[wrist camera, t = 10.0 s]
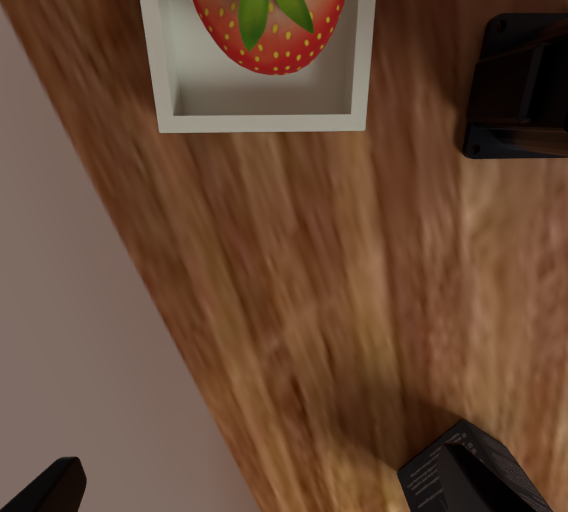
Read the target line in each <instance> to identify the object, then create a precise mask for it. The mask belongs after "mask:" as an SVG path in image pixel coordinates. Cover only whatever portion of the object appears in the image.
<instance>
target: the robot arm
mask: <svg viewBox="0 0 568 512" xmlns="http://www.w3.org/2000/svg"><path fill="white" fill-rule="evenodd" d="M498 22H499V23H500V24H501V30H500V32H497V31H496V25H497V23H498ZM466 118H467V120H468V122H467V127H466V132H465V138H464V143H463V148H462V153H463V155H464V156H465V157H466V158H471V159H507V158H568V13H503V14H499V15H497V16H495V17H493V18H492V19H490V21H489V22H488V23H487V26H486V29H485V34H484V39H483V44H482V50H481V55H480V60H479V62H478V63H477V64H476V67H475V72H474V77H473V82H472V88H471V93H470V98H469V103H468V109H467V114H466ZM473 145H476V150H475V151H474V152H473V153H471V148H472V146H473ZM437 473H438V476H439V479H440V482H441V485H442V489H443V492H444V495H445V498H446V501H447V504H448V507H449V510H450V512H537V511H536V510H535V509H534V508H533V507H532V506H531V505H529V504H528V503H527V502H526V501H525V500H524V499H523V498H522V497H521V496H519V495H518V494H517V493H516V492H515V491H514V490H513V489H512V488H511V487H509V486H508V485H507V484H506V483H505V482H504V481H503V480H502V479H500V478H499V477H498V476H497V475H496V474H495V473H494V472H493V471H492V470H490V469H489V468H488V467H487V466H486V465H485V464H484V463H483V462H482V461H480V460H479V459H478V458H477V457H476V456H475V455H474V454H473V453H472V452H470V451H469V450H468V449H467V448H466V447H465V446H464V445H462V444H461V443H459V442H444V443H443V444H442V445H441V448H440V452H439V456H438V460H437ZM86 480H87V479H86V475H85V472H84V470H83V467H82V464H81V462H80V459H79V458H78V457H62V458H59V459H57V460H56V461H55V462H53V463H52V464H51V465H50V466H49V467H48V468H47V469H46V470H45V471H43V472H42V473H41V474H40V475H39V476H38V477H36V478H35V479H34V480H33V481H32V482H31V483H30V484H29V485H27V486H26V487H25V488H24V489H23V490H22V491H21V492H19V493H18V494H17V495H16V496H15V497H14V498H13V499H12V500H10V501H9V502H8V503H7V504H6V505H5V506H4V507H3V508H1V509H0V512H78V509H79V506H80V503H81V500H82V497H83V494H84V492H85V488H86V483H87V481H86Z"/></svg>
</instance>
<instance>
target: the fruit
mask: <svg viewBox="0 0 568 512" xmlns="http://www.w3.org/2000/svg"><path fill="white" fill-rule="evenodd" d="M193 3H194V6H195V8H196V11H197V13H198V15H199V17H200V19H201V21H202V23H203V24H204V26H205V28H206V30H207V31H208V32H209V34H210V35H211V37H212V38H213V40H214V41H215V43H216V44H217V45H218V47H219V48H220V49H221V50H222V51H223V52H224V53H225V54H226V55H227V56H228V57H229V58H230V59H231V60H233V61H234V62H236V63H237V64H238V65H240V66H242V67H244V68H246V69H248V70H251V71H253V72H255V73H260V74H265V75H286V74H290V73H294V72H297V71H299V70H300V69H302V68H304V67H305V66H307V65H309V64H310V63H311V62H312V61H313V60H314V59H315V58H316V57H317V56H318V55H319V54H320V52H321V51H322V50H323V49H324V47H325V45H326V44H327V42H328V40H329V39H330V37H331V36H332V33H333V31H334V29H335V27H336V24H337V22H338V20H339V17H340V15H341V12H342V9H343V6H344V3H345V0H193Z"/></svg>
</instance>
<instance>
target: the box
mask: <svg viewBox="0 0 568 512" xmlns="http://www.w3.org/2000/svg"><path fill="white" fill-rule="evenodd" d="M444 442H459V443H461V444H462V445H464V446H465V447H466V448H467V449H468V450H469V451H470V452H472V453H473V454H474V455H475V456H476V457H477V458H478V459H479V460H480V461H482V462H483V463H484V464H485V465H486V466H487V467H488V468H489V469H490V470H492V471H493V472H494V473H495V474H496V475H497V476H498V477H499V478H500V479H502V480H503V481H504V482H505V483H506V484H507V485H508V486H509V487H511V488H512V489H513V490H514V491H515V492H516V493H517V494H518V495H519V496H521V497H522V498H523V499H524V500H525V501H526V502H527V503H528V504H529V505H531V506H532V507H533V508H534V509H535V510H536V511H537V512H553V511H552V510H551V508H550V507H549V505H548V504H547V503H546V501H545V500H544V498H543V497H542V496H541V494H540V493H539V492H538V490H537V489H536V487H535V486H534V485H533V483H532V482H531V480H530V479H529V478H528V476H527V475H526V473H525V472H524V471H523V469H522V468H521V467H520V465H519V464H518V462H517V461H516V460H515V458H514V457H513V455H512V454H511V453H510V451H509V450H508V449H507V448H506V446H504V445H503V444H501V443H500V442H498V441H497V440H495V439H494V438H492V437H490V436H489V435H487V434H486V433H484V432H482V431H481V430H479V429H478V428H476V427H475V426H473V425H472V424H470V423H469V422H467V421H465V420H462V421H461V422H459V423H458V424H457V425H456V426H455V427H453V428H452V429H451V430H450V431H448V432H447V433H446V434H445V435H443V436H442V437H441V438H440V439H438V440H437V441H436V442H435V443H434V444H432V445H431V446H430V447H429V448H427V449H426V450H425V451H424V452H422V453H421V454H420V455H419V456H417V457H416V458H415V459H414V460H413V461H411V462H410V463H409V464H408V465H406V466H405V467H404V468H402V469H401V470H400V471H399V472H397V475H398V478H399V481H400V484H401V486H402V489H403V492H404V495H405V497H406V500H407V503H408V505H409V508H410V511H411V512H450V510H449V507H448V504H447V501H446V498H445V495H444V492H443V489H442V485H441V482H440V479H439V476H438V473H437V460H438V456H439V452H440V448H441V445H442V444H443V443H444Z"/></svg>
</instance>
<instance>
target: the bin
mask: <svg viewBox="0 0 568 512" xmlns="http://www.w3.org/2000/svg"><path fill="white" fill-rule="evenodd" d="M375 2H376V0H345V3H344V6H343V9H342V12H341V15H340V17H339V20H338V22H337V24H336V27H335V29H334V31H333V33H332V36H331V37H330V39H329V40H328V42H327V44H326V45H325V47H324V49H323V50H322V51H321V52H320V54H319V55H318V56H317V57H316V58H315V59H314V60H313V61H312V62H311V63H310V64H309V65H307V66H305V67H304V68H302V69H300V70H299V71H297V72H294V73H290V74H286V75H265V74H260V73H255V72H253V71H251V70H248V69H246V68H244V67H242V66H240V65H238V64H237V63H236V62H234V61H233V60H231V59H230V58H229V57H228V56H227V55H226V54H225V53H224V52H223V51H222V50H221V49H220V48H219V47H218V45H217V44H216V43H215V41H214V40H213V38H212V37H211V35H210V34H209V32H208V31H207V30H206V28H205V26H204V24H203V23H202V21H201V19H200V17H199V15H198V13H197V11H196V8H195V6H194V3H193V0H140V3H141V10H142V17H143V24H144V30H145V37H146V44H147V51H148V58H149V65H150V71H151V78H152V85H153V92H154V99H155V106H156V113H157V119H158V126H159V133H192V132H289V131H365V124H366V112H367V100H368V87H369V75H370V63H371V51H372V38H373V26H374V14H375Z"/></svg>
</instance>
